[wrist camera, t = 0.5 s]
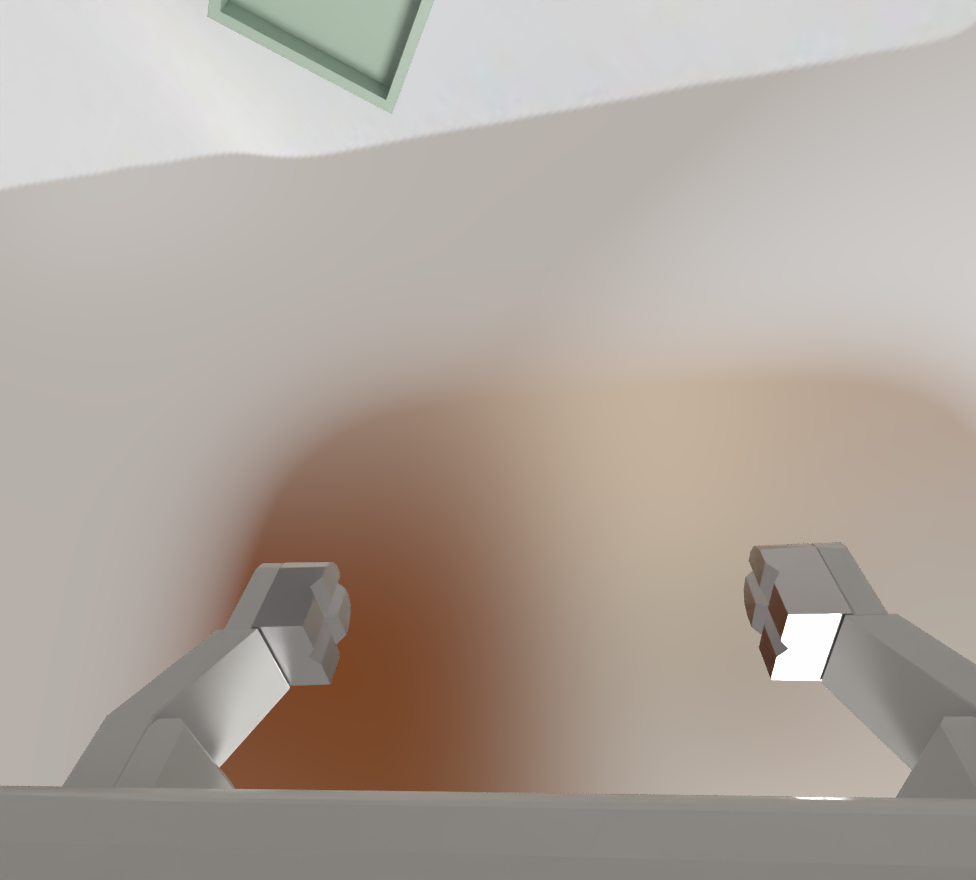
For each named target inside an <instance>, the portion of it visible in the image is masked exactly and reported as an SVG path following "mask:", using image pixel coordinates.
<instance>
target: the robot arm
mask: <svg viewBox="0 0 976 880" xmlns="http://www.w3.org/2000/svg"><path fill="white" fill-rule="evenodd" d="M749 562H750V565H751V567H752V570H753V571H752V572H751V573H750V574H748V575H747V576H746V578H745V585H744V602H745V607H746V612H747V616H748V618H749V621H750V624H751V627H752V628H754V629H755V630H756V631H757V632H759V633H760V634H761V635H762V636H761V641H760V645H759V649H760V652H761V654H762V657H763V660H764V662H765V665H766V667H767V670H768V673H769V675H770V678H771V680H821V683H822V684H823V685H824V686H825V687H826V688H827V689H828V690H829V691H830V692H831V693H832V694H833V695H834V696H835V697H836V698H837V699H838V700H839V701H840V702H842V704H843V705H845V706H846V707H847V708H848V709H849V710H850V711H851V712H852V713H853V714H854V715H855V716H856V717H857V718H858V719H859V720H860V721H861V722H862V723H863V724H864V725H865V726H866V727H868V728H869V729H870V730H871V731H872V732H873V733H874V734H875V735H876V736H877V737H878V738H879V739H880V740H881V741H882V742H883V743H884V744H885V745H886V746H887V747H888V748H889V749H890V750H891V751H892V752H894V753H895V754H896V755H897V756H898V757H899V758H900V759H901V760H902V761H903V762H904V763H905V764H906V765H907V766H908V767H909V768H910V769H911V770H912V771H911V773H910V775H909V776H908V778H907V780H906V782H905V783H904V785H903V786H902V788H901V790H900V791H899V793H898V795H897V797H896V798H866V797H792V796H785V797H784V796H718V795H711V796H710V795H646V794H640V795H639V794H576V793H498V792H419V791H417V792H415V791H344V790H342V791H340V790H268V789H267V790H265V789H261V790H260V789H234V786H233V784H232V783H231V782H230V781H229V779H228V778H227V777H226V775H225V774H224V773H223V772H222V771H221V769H220V768H219V767H220V766H221V765H222V764H223V763H224V762H225V761H226V759H227V758H228V757H229V756H230V755H231V754H232V753H233V751H234V750H235V749H236V748H237V747H238V746H239V745H240V743H242V741H243V740H244V739H245V738H246V737H247V736H248V735H249V734H250V732H251V731H252V730H253V729H254V728H255V727H256V726H257V724H258V723H259V722H260V721H261V720H262V719H263V718H264V717H265V716H266V714H267V713H268V712H269V711H270V710H271V709H272V708H273V707H274V705H275V704H276V703H277V702H278V701H279V700H280V699H281V697H282V696H283V695H284V694H285V693H286V692H287V691H288V690H289V689H290V687H289V686H293V685H320V684H330V683H331V681H332V677H333V674H334V671H335V668H336V665H337V661H338V659H339V656H340V654H339V651H338V649H337V647H336V644H337V643H338V642H339V641H340V640H341V639H342V638H343V637H344V636H345V635H346V633H347V629H348V626H349V623H350V610H351V607H350V601H349V596H348V593H347V591H346V589H345V588H344V587H342V586H341V585H340V584H338V580H339V577H340V573H339V570H338V568H337V566H336V564H335V563H331V562H319V563H318V562H313V563H312V562H311V563H268V564H267V563H263V564H261V565H260V566H259V567H258V568H257V569H256V570H255V572H254V574H253V576H252V578H251V579H250V581H249V583H248V585H247V587H246V589H245V591H244V593H243V595H242V597H241V599H240V600H239V602H238V605H237V606H236V608H235V610H234V612H233V614H232V616H231V618H230V619H229V621H228V623H227V625H226V627H225V629H218V630H216V631H215V632H214V633H212V634H211V635H210V636H209V637H207V638H206V639H205V640H203V641H202V642H201V643H200V644H198V645H197V646H196V647H195V648H193V649H192V650H191V651H189V652H188V653H187V654H186V655H184V656H183V657H182V658H181V659H179V660H178V661H177V662H175V663H174V664H173V665H171V666H170V667H169V668H168V669H166V670H165V671H164V672H163V673H161V674H160V675H159V676H157V677H156V678H155V679H154V680H152V681H151V682H150V683H148V684H147V685H146V686H145V687H143V688H142V689H141V690H140V691H138V692H137V693H136V694H134V695H133V696H132V697H131V698H129V699H128V700H127V701H125V702H124V703H123V704H122V705H120V706H119V707H118V708H117V709H115V710H114V711H113V712H111V713H110V714H109V715H107V716H106V718H105V720H104V721H103V723H102V724H101V726H100V727H99V729H98V731H97V732H96V734H95V736H94V737H93V739H92V740H91V742H90V743H89V745H88V746H87V748H86V750H85V751H84V753H83V754H82V756H81V758H80V759H79V761H78V763H77V764H76V766H75V767H74V769H73V770H72V772H71V773H70V775H69V777H68V778H67V780H66V781H65V783H64V785H63V786H62V787H54V786H0V880H976V665H975V664H974V663H972V662H971V661H969V660H968V659H966V658H964V657H963V656H962V655H960V654H958V653H957V652H955V651H954V650H952V649H951V648H949V647H948V646H946V645H945V644H943V643H942V642H940V641H938V640H937V639H935V638H934V637H932V636H931V635H929V634H928V633H926V632H925V631H923V630H921V629H920V628H918V627H917V626H915V625H914V624H912V623H911V622H909V621H908V620H906V619H904V618H903V617H901V616H900V615H898V614H888V613H887V611H886V610H885V608H884V606H883V605H882V603H881V601H880V600H879V598H878V597H877V595H876V593H875V592H874V590H873V589H872V587H871V585H870V584H869V582H868V581H867V579H866V577H865V576H864V574H863V572H862V571H861V569H860V568H859V566H858V564H857V563H856V561H855V560H854V558H853V556H852V555H851V553H850V552H849V550H848V548H847V547H846V546H845V545H844V544H842V543H841V542H835V543H812V544H787V545H765V546H754V547H753V549H752V550H751V552H750V558H749Z"/></svg>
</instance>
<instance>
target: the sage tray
mask: <svg viewBox="0 0 976 880" xmlns="http://www.w3.org/2000/svg"><path fill="white" fill-rule="evenodd" d="M433 2H434V0H209V6H208V15H207V17H209V18H211V19H213V20H215V21H217V22H218V23H220V24H222V25H224V26H226V27H228V28H230V29H232V30H234V31H236V32H237V33H239V34H241V35H243V36H245V37H247V38H249V39H251V40H253V41H254V42H256V43H258V44H260V45H262V46H264V47H266V48H268V49H270V50H272V51H273V52H275V53H277V54H279V55H281V56H283V57H285V58H287V59H289V60H290V61H292V62H294V63H296V64H298V65H300V66H302V67H304V68H306V69H308V70H309V71H311V72H313V73H315V74H317V75H319V76H321V77H323V78H325V79H327V80H328V81H330V82H332V83H334V84H336V85H338V86H340V87H342V88H344V89H345V90H347V91H349V92H351V93H353V94H355V95H357V96H359V97H361V98H363V99H364V100H366V101H368V102H370V103H372V104H374V105H376V106H378V107H380V108H381V109H383V110H385V111H387V112H389V113H391V114H392V113H393V110H394V107H395V104H396V102H397V99H398V96H399V94H400V91H401V88H402V86H403V83H404V80H405V78H406V75H407V72H408V70H409V67H410V64H411V61H412V59H413V56H414V53H415V51H416V48H417V45H418V43H419V40H420V37H421V35H422V32H423V29H424V27H425V24H426V21H427V18H428V16H429V13H430V10H431V8H432V5H433Z"/></svg>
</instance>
